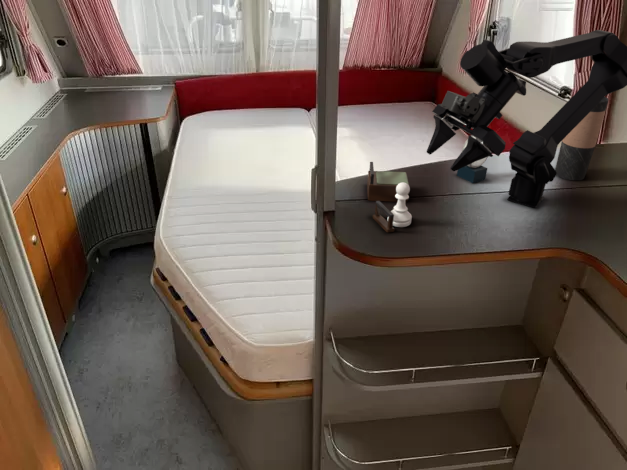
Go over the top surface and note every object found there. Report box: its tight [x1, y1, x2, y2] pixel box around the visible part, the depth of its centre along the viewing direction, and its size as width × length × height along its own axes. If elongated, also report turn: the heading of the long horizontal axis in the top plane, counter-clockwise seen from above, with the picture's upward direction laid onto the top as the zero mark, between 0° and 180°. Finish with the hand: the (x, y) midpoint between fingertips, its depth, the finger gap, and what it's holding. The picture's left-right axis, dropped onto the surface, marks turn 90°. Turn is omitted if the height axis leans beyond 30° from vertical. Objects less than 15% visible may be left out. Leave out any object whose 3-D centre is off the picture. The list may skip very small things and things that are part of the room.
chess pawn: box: [386, 182, 413, 228], centre depth 110 cm, size 5×5×9 cm
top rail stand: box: [366, 161, 410, 203], centre depth 122 cm, size 9×8×6 cm
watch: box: [456, 135, 489, 184], centre depth 130 cm, size 6×8×11 cm
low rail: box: [372, 201, 395, 234], centre depth 110 cm, size 7×2×4 cm, turn 21°
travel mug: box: [554, 96, 609, 181], centre depth 131 cm, size 8×8×20 cm
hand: (439, 161), depth 109 cm, fingers open, 9 cm apart
